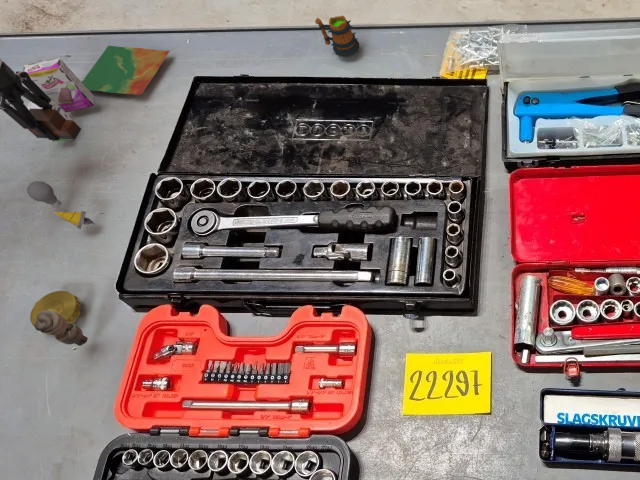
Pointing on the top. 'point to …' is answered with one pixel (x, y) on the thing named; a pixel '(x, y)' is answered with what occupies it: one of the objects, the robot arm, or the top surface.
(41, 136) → the brown stepped block
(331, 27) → the mug
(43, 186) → the light bulb
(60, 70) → the candy bar box
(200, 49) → the top surface
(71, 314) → the yellow round disc
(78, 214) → the drill bit
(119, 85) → the terrain model
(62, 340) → the brown lumpy elongated piece
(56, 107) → the ink box
